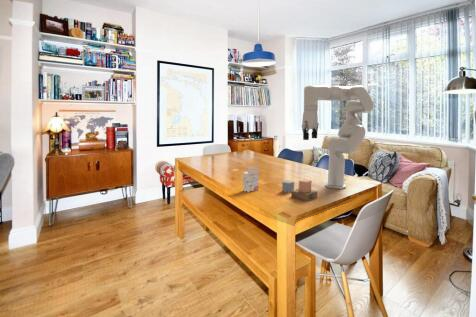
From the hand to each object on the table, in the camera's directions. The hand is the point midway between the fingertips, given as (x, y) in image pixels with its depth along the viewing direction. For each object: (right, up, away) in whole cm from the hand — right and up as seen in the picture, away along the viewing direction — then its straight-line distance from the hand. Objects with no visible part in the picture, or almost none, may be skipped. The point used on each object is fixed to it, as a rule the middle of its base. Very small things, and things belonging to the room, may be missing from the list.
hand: (310, 139), depth 145 cm
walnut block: (-4, -33, -3) cm, 34 cm away
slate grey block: (-11, -31, +9) cm, 34 cm away
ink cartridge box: (-34, -31, +11) cm, 47 cm away
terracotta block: (-4, -29, -3) cm, 30 cm away
